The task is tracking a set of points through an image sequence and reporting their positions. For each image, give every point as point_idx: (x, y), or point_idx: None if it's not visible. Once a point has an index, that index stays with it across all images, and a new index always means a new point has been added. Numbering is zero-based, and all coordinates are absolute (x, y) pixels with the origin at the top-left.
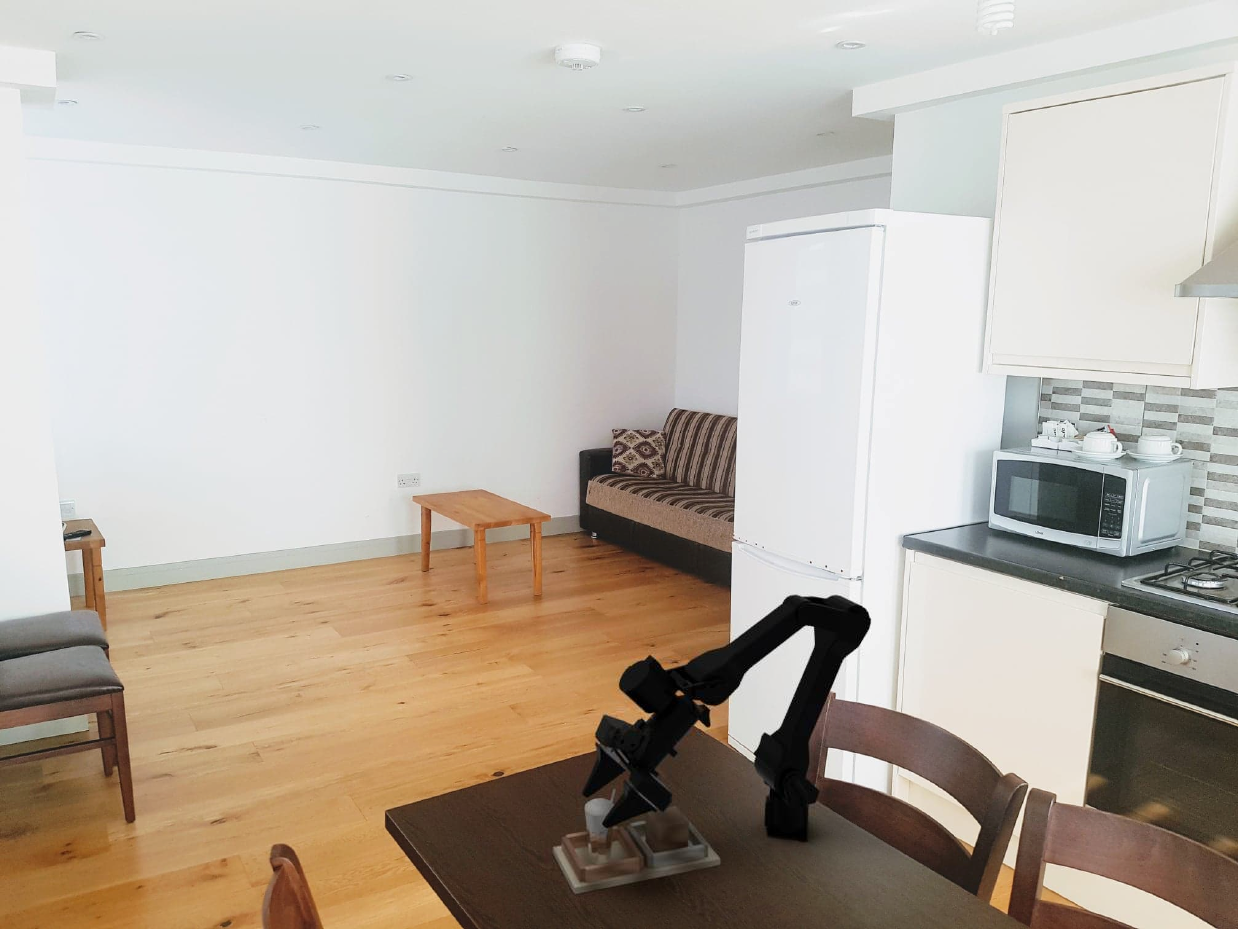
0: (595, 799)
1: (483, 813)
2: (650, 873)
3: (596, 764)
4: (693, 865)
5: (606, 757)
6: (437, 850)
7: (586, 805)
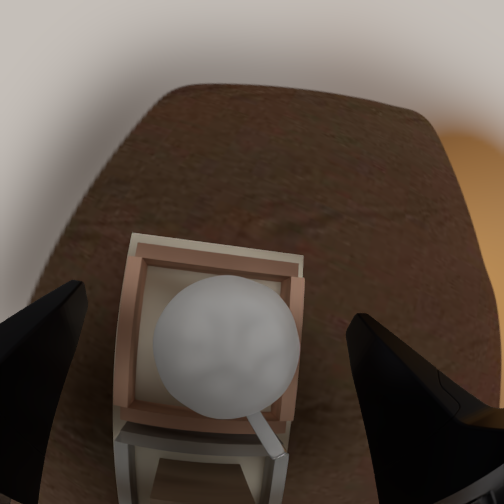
0: (272, 341)
1: (435, 204)
2: (113, 416)
3: (462, 400)
4: (118, 497)
5: (472, 465)
6: (357, 110)
7: (257, 287)
